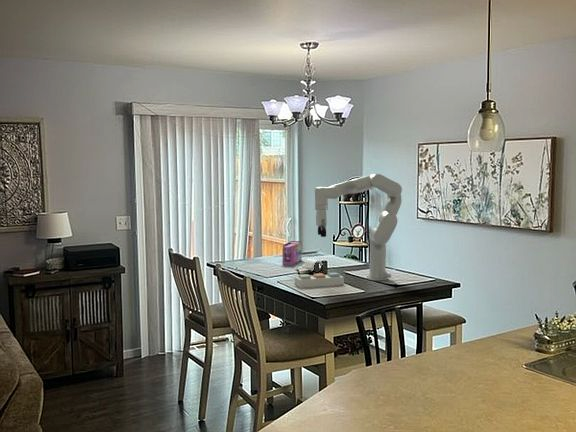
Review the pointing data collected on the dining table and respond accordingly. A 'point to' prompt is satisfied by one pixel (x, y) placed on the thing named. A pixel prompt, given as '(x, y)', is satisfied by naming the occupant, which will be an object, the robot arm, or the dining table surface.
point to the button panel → (319, 281)
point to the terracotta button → (319, 275)
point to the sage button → (305, 276)
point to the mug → (311, 264)
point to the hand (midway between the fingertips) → (322, 235)
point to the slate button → (334, 274)
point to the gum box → (292, 253)
